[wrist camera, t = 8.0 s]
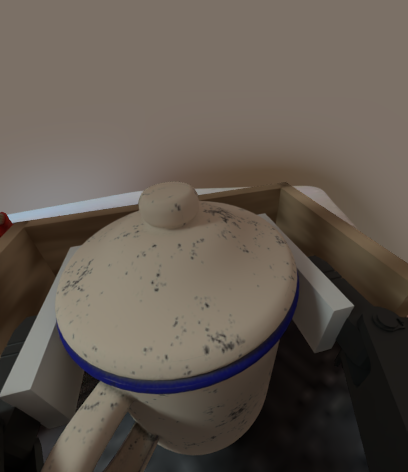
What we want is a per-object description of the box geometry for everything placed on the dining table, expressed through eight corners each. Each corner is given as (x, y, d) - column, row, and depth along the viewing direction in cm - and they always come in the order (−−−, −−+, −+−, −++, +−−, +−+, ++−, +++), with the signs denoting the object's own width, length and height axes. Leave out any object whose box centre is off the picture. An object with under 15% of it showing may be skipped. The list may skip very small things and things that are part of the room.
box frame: (52, 277, 23) (15, 222, 19) (277, 235, 27) (285, 182, 23) (-48, 472, 11) (-197, 435, 7) (379, 350, 15) (434, 281, 11)
